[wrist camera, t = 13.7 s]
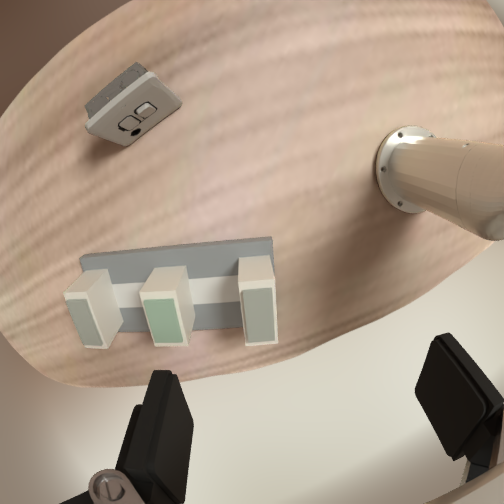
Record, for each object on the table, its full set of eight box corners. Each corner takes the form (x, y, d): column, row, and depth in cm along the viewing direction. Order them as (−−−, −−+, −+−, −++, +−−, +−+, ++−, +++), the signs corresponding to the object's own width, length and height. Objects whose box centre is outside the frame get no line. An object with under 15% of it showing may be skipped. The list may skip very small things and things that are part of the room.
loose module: (186, 265, 39) (174, 292, 32) (195, 315, 42) (187, 348, 35) (154, 267, 39) (137, 294, 32) (166, 317, 42) (154, 348, 35)
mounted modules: (269, 255, 39) (275, 281, 31) (273, 313, 42) (278, 346, 35) (85, 270, 39) (60, 294, 31) (102, 321, 42) (83, 350, 35)
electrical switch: (127, 147, 34) (91, 144, 25) (110, 119, 33) (72, 109, 24) (185, 104, 33) (162, 86, 24) (165, 76, 32) (139, 52, 23)
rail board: (271, 236, 39) (272, 240, 38) (276, 318, 44) (277, 324, 42) (83, 254, 39) (79, 258, 38) (106, 326, 44) (103, 331, 42)
